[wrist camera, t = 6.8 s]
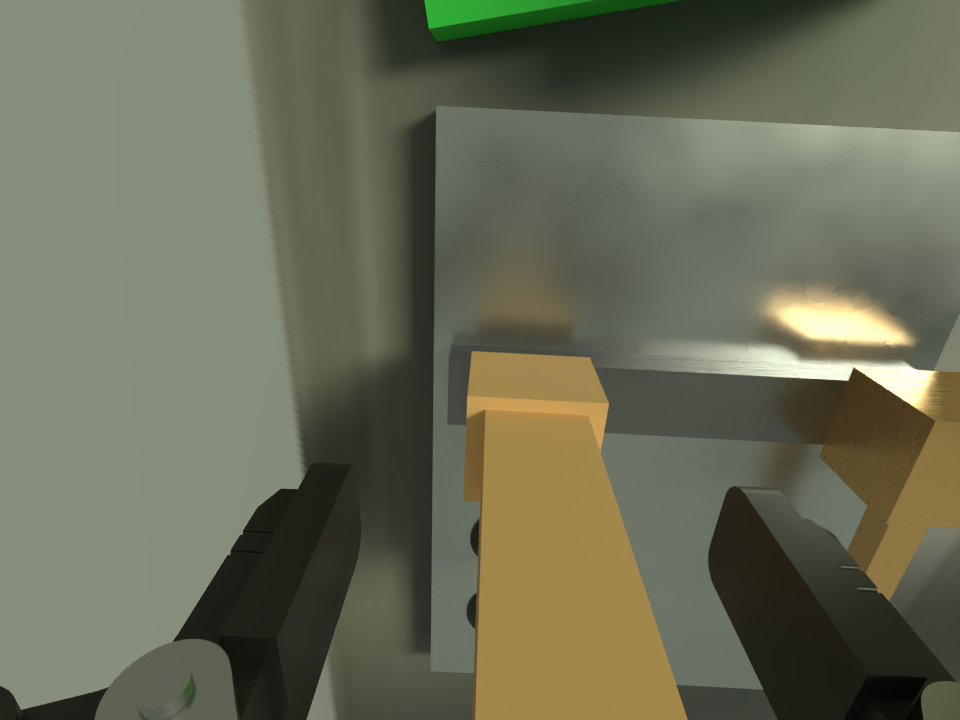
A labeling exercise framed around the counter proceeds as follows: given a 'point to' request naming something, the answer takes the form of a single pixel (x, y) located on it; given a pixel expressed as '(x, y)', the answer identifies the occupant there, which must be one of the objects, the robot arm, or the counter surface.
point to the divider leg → (554, 553)
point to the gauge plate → (705, 336)
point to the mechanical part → (514, 14)
